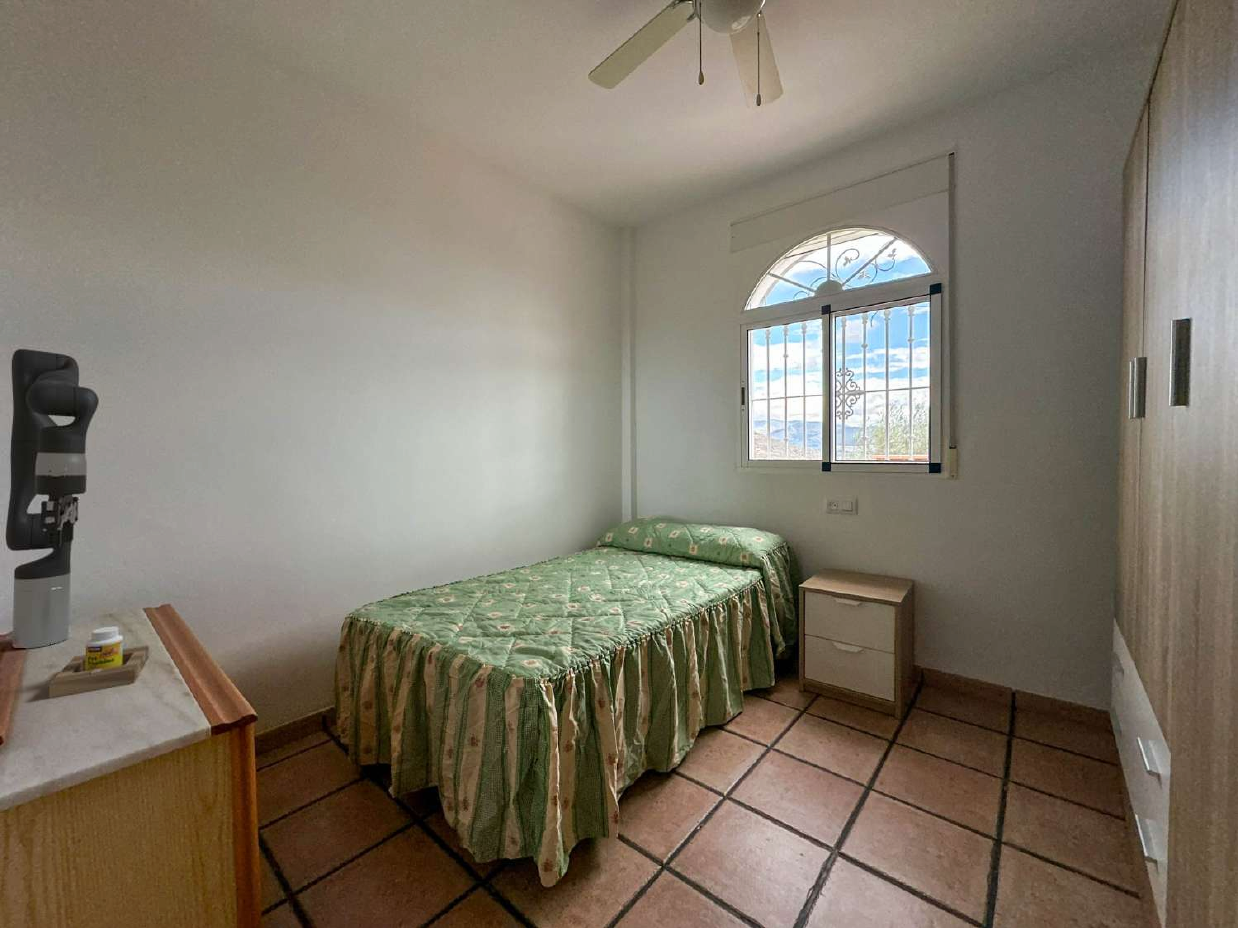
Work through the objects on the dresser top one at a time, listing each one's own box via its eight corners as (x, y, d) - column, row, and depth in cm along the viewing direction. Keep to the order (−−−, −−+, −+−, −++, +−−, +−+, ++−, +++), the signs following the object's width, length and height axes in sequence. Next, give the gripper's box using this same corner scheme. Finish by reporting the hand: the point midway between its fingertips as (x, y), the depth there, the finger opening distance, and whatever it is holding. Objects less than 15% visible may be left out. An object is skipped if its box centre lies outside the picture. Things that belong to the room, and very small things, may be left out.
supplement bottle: (80, 683, 101) (81, 635, 101) (90, 673, 105) (91, 627, 105) (117, 677, 104) (118, 631, 104) (125, 668, 108) (126, 623, 108)
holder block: (74, 669, 107) (74, 654, 107) (148, 657, 114) (149, 643, 114) (49, 698, 94) (49, 681, 94) (134, 682, 101) (134, 667, 101)
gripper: (47, 472, 111) (45, 541, 111) (23, 474, 100) (21, 551, 100) (94, 472, 115) (92, 539, 115) (76, 474, 104) (74, 548, 104)
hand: (59, 544), depth 108 cm, fingers open, 8 cm apart
